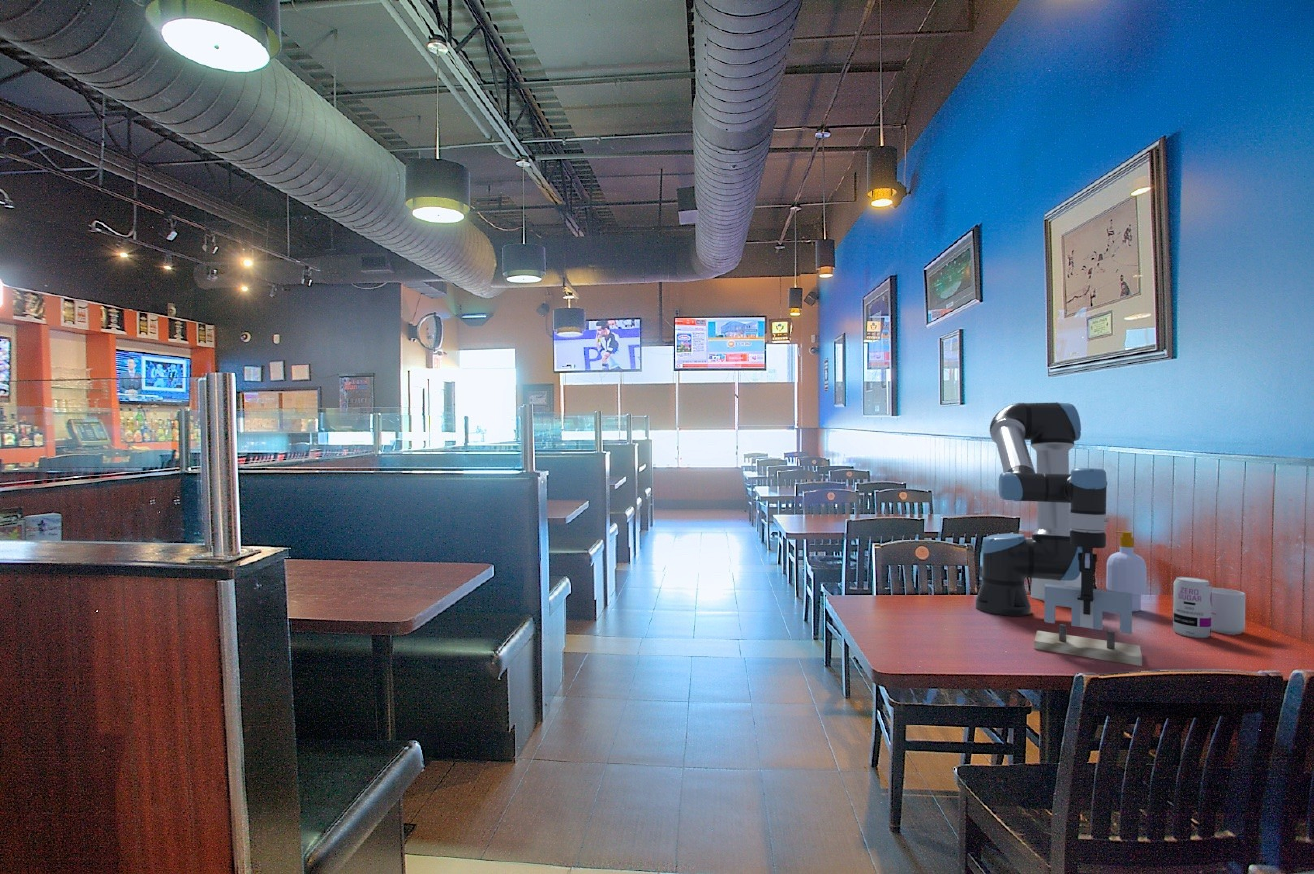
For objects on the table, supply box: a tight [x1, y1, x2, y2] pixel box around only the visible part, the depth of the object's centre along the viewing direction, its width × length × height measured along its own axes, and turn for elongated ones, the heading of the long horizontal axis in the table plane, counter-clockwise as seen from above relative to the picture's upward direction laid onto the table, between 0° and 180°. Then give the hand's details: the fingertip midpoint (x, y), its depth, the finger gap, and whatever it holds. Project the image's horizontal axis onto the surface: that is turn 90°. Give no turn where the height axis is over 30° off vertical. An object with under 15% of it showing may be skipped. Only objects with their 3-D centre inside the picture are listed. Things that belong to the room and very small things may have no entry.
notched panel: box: [1043, 584, 1133, 635], centre depth 165 cm, size 18×4×9 cm, turn 57°
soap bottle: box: [1105, 530, 1148, 612], centre depth 209 cm, size 10×10×24 cm
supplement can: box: [1172, 576, 1213, 639], centre depth 182 cm, size 8×8×15 cm
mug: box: [1211, 587, 1246, 636], centre depth 188 cm, size 12×9×11 cm
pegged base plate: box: [1033, 623, 1143, 667], centre depth 166 cm, size 22×11×6 cm, turn 57°
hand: (1086, 624), depth 165 cm, fingers closed on notched panel, 4 cm apart
